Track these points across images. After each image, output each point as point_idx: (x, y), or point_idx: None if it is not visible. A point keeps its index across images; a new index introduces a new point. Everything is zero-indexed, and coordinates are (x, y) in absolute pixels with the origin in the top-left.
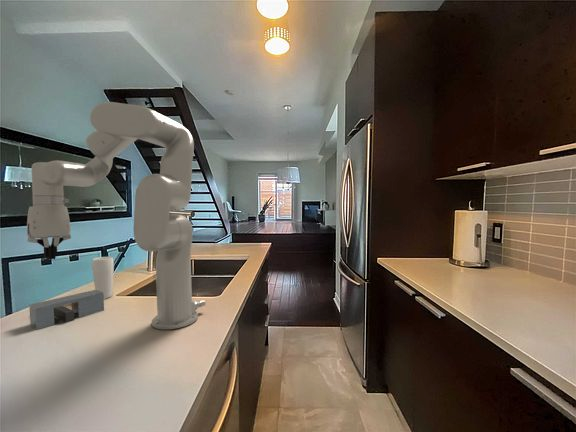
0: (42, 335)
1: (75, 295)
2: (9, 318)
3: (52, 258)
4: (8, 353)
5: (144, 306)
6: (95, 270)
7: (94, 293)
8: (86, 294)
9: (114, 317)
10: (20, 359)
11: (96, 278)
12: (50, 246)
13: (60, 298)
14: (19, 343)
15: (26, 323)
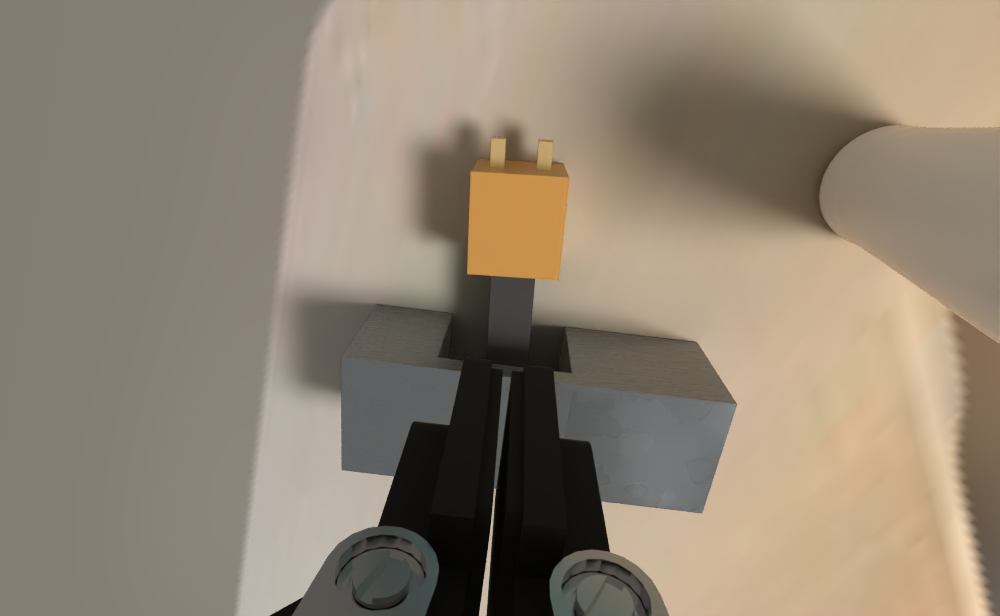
0: (371, 482)
1: (584, 417)
2: (332, 41)
3: (496, 490)
4: (257, 533)
5: (791, 557)
6: (971, 287)
7: (664, 484)
8: (629, 460)
9: (625, 556)
10: (275, 601)
11: (914, 252)
12: (516, 558)
13: (501, 396)
14: (296, 483)
15: (371, 257)
